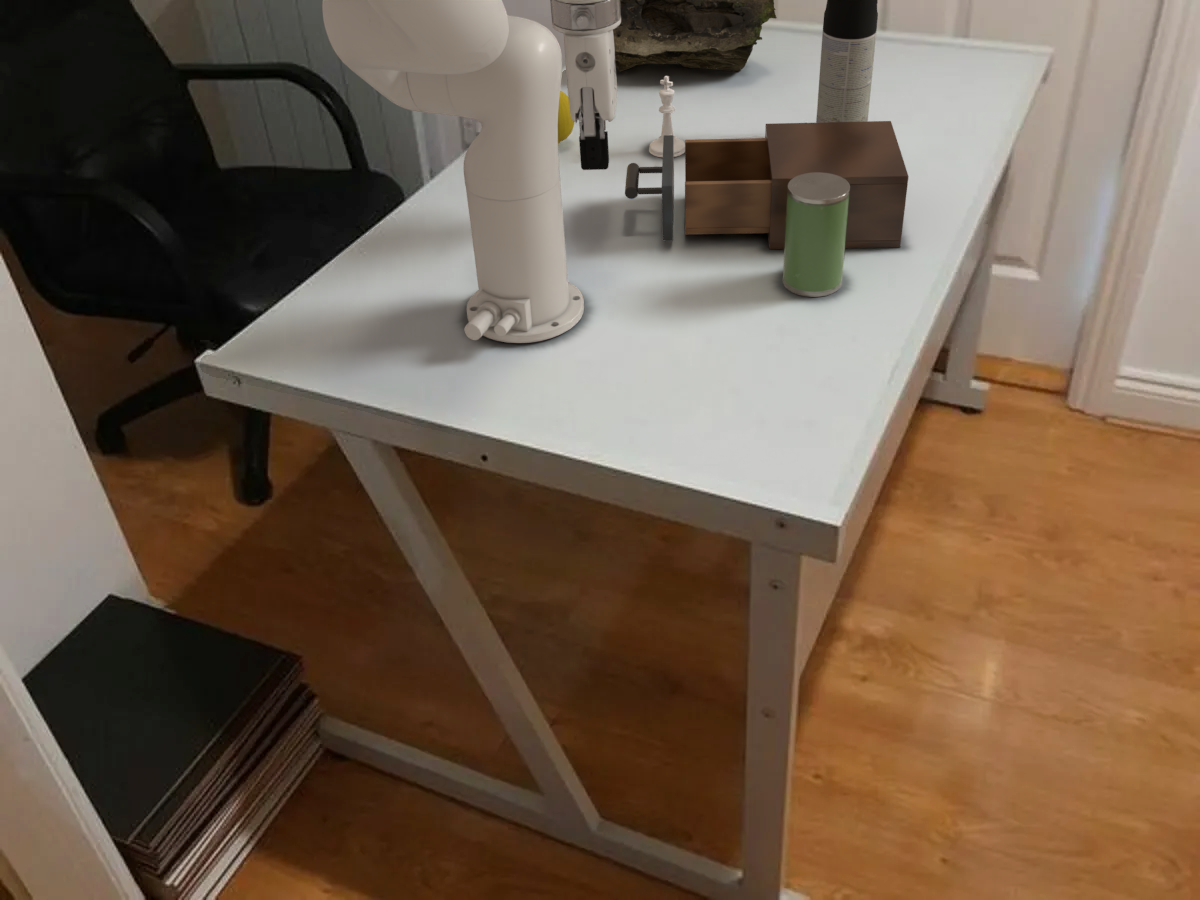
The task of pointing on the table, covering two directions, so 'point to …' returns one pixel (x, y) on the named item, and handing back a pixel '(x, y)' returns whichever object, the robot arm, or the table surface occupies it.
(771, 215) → the cabinet
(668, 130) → the chess piece
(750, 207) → the drawer
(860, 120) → the spray can
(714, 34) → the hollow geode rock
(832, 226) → the tin can
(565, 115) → the lemon
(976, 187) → the table surface
